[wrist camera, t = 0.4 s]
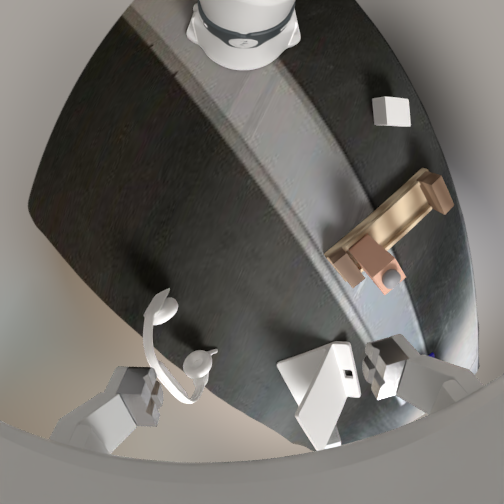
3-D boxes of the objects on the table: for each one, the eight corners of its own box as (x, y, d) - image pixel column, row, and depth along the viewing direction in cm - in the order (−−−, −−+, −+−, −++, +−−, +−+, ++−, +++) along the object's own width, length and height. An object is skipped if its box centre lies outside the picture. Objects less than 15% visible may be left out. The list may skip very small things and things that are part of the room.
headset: (147, 291, 53) (119, 350, 37) (177, 280, 53) (156, 341, 36) (191, 358, 61) (183, 420, 45) (219, 351, 61) (216, 415, 44)
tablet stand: (301, 410, 73) (312, 457, 57) (275, 362, 63) (284, 419, 48) (359, 389, 71) (377, 434, 55) (346, 335, 61) (372, 388, 46)
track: (342, 276, 54) (354, 295, 48) (323, 253, 52) (335, 270, 46) (435, 194, 48) (455, 203, 42) (421, 167, 46) (443, 173, 39)
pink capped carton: (359, 265, 51) (387, 298, 40) (347, 249, 49) (375, 280, 38) (377, 250, 50) (408, 280, 39) (366, 233, 48) (398, 261, 37)
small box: (334, 426, 79) (341, 450, 69) (318, 430, 79) (324, 454, 69) (333, 415, 75) (341, 441, 66) (317, 420, 76) (323, 446, 66)
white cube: (374, 124, 43) (387, 124, 38) (371, 98, 41) (384, 96, 36) (396, 126, 43) (410, 126, 38) (394, 100, 41) (408, 99, 36)
